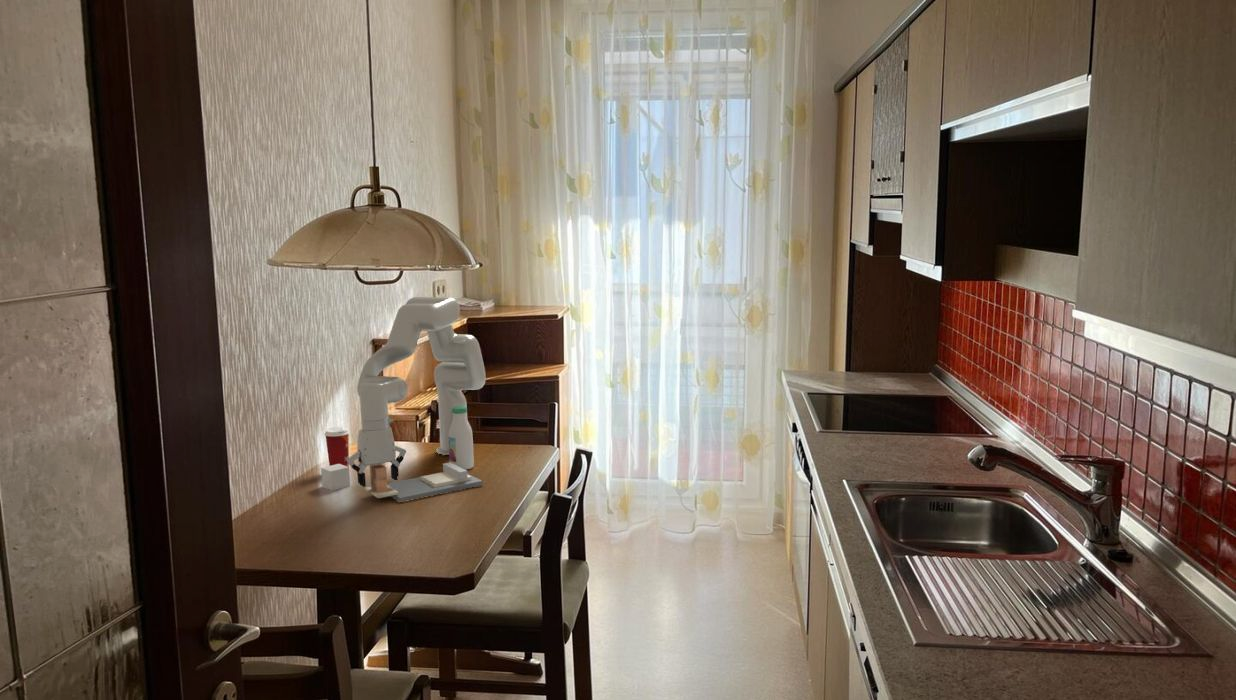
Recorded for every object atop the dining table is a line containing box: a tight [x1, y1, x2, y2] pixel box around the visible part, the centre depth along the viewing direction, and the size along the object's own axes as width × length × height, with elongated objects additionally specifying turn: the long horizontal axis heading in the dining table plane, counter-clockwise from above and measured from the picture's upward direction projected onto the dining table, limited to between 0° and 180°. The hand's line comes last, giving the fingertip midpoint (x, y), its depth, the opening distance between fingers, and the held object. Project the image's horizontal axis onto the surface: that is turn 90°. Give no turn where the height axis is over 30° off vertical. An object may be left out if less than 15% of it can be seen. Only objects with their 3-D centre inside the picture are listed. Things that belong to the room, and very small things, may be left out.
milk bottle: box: [448, 406, 475, 471], centre depth 283 cm, size 8×8×20 cm
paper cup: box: [324, 426, 351, 468], centre depth 281 cm, size 8×8×14 cm
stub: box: [364, 463, 398, 499], centre depth 254 cm, size 10×6×8 cm, turn 36°
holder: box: [387, 461, 483, 502], centre depth 263 cm, size 16×26×5 cm, turn 126°
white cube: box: [320, 464, 351, 491], centre depth 266 cm, size 6×6×6 cm
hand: (378, 482), depth 254 cm, fingers open, 9 cm apart
